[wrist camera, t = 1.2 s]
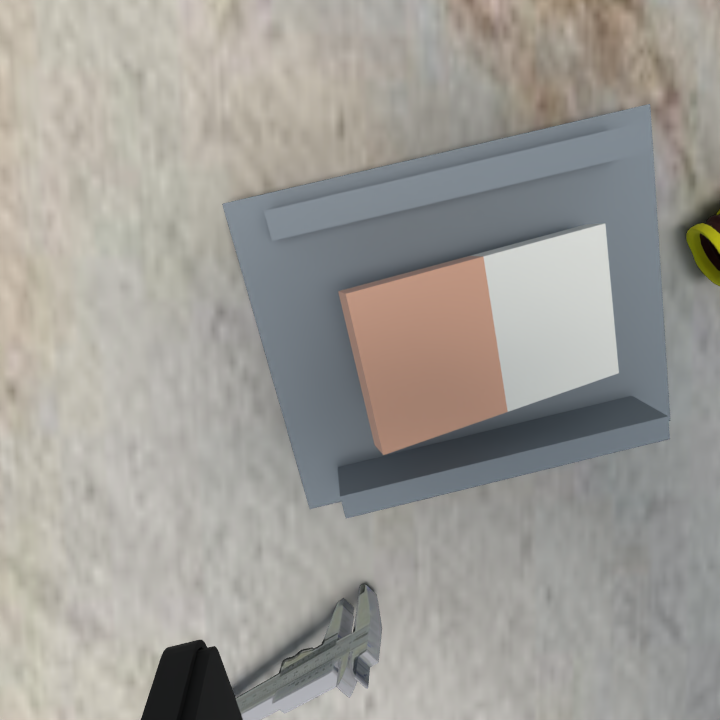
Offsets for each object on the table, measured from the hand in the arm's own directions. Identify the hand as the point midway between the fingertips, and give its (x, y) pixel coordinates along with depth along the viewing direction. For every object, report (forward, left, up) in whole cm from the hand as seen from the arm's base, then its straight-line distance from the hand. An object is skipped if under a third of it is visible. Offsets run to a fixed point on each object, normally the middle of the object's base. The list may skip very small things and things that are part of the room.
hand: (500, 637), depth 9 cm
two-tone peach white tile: (-5, -1, -16) cm, 16 cm away
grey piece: (-5, -1, -20) cm, 21 cm away
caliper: (+12, +19, -21) cm, 31 cm away
